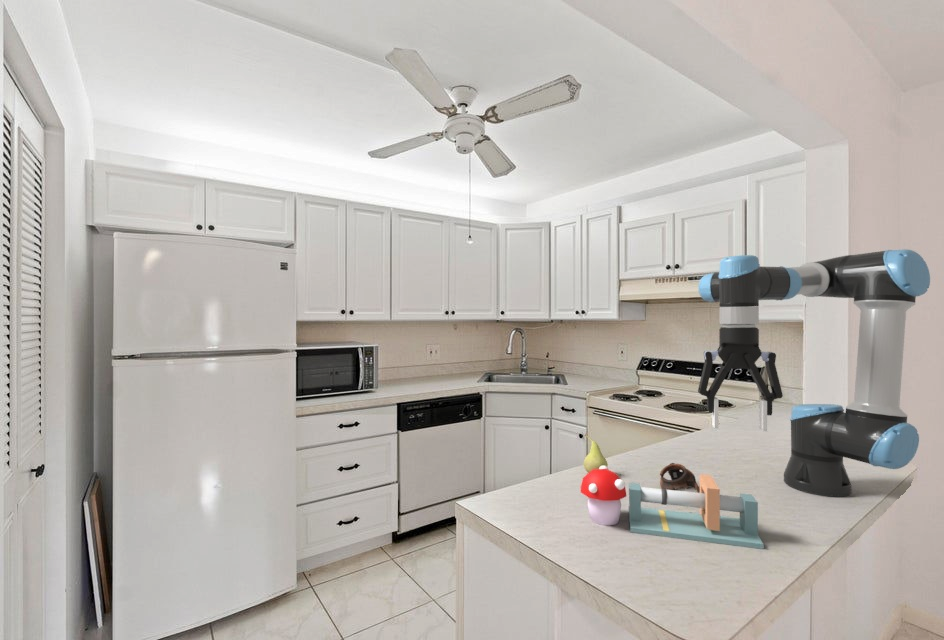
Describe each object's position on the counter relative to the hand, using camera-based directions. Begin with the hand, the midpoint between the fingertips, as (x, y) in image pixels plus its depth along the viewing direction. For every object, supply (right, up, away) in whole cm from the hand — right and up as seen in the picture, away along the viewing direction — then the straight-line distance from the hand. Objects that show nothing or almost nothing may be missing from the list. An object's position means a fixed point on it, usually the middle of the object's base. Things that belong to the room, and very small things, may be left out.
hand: (738, 428), depth 100 cm
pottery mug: (-2, -23, +26) cm, 35 cm away
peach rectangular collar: (-6, -21, +2) cm, 22 cm away
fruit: (-22, -23, +37) cm, 49 cm away
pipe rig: (-9, -23, +3) cm, 25 cm away
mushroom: (-28, -24, +8) cm, 37 cm away
